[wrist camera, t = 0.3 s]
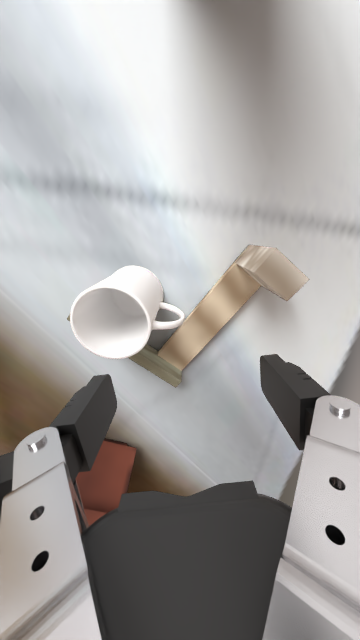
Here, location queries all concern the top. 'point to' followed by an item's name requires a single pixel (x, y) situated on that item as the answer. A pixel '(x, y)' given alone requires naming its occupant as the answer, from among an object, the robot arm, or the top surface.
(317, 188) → the top surface
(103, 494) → the potted plant
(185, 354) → the bracket
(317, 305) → the top surface
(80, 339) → the mug
